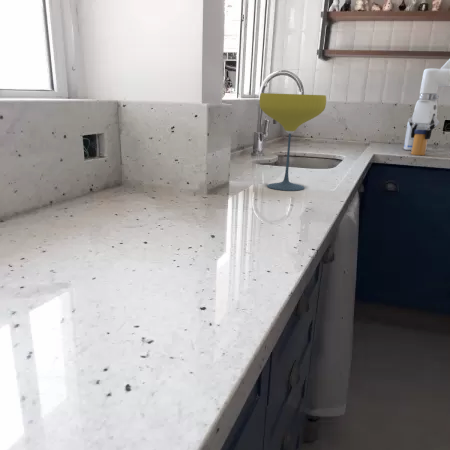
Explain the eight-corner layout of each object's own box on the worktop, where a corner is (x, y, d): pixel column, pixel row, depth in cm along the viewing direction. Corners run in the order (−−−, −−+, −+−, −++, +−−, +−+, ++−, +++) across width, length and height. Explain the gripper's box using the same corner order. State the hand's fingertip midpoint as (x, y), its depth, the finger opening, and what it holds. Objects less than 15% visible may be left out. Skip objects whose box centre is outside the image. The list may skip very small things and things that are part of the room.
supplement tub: (426, 151, 250) (432, 120, 245) (413, 151, 247) (418, 120, 241) (412, 148, 258) (417, 119, 253) (399, 149, 254) (404, 119, 249)
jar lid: (419, 134, 226) (419, 129, 225) (411, 133, 233) (411, 128, 232) (432, 134, 228) (433, 130, 227) (424, 133, 234) (424, 129, 233)
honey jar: (427, 154, 234) (431, 131, 229) (420, 155, 230) (424, 132, 225) (415, 153, 238) (419, 130, 234) (408, 154, 234) (412, 131, 230)
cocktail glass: (316, 195, 131) (327, 95, 121) (251, 190, 134) (256, 92, 124) (317, 184, 147) (326, 95, 138) (258, 180, 150) (263, 93, 140)
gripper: (449, 98, 219) (441, 139, 226) (415, 97, 232) (409, 136, 239) (439, 98, 215) (431, 140, 222) (406, 97, 228) (399, 136, 235)
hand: (420, 138), depth 231 cm, fingers closed on jar lid, 6 cm apart
